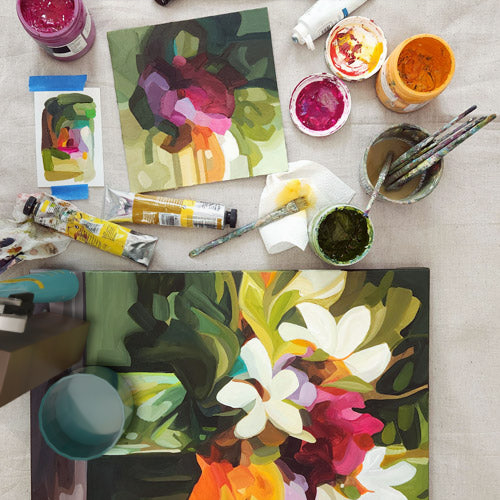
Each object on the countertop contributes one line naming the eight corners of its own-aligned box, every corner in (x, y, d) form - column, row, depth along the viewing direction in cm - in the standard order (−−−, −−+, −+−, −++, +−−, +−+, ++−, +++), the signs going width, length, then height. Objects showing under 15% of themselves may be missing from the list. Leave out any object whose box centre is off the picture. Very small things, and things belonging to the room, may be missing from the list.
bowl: (45, 435, 69) (29, 449, 64) (65, 356, 69) (50, 363, 64) (123, 455, 69) (112, 470, 64) (142, 375, 69) (134, 384, 64)
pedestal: (36, 349, 69) (-72, 394, 46) (46, 311, 69) (-57, 335, 46) (81, 361, 69) (-4, 410, 46) (90, 322, 69) (10, 352, 46)
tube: (84, 265, 70) (20, 266, 50) (89, 297, 69) (27, 310, 50) (36, 273, 70) (-47, 278, 50) (41, 305, 69) (-40, 322, 50)
